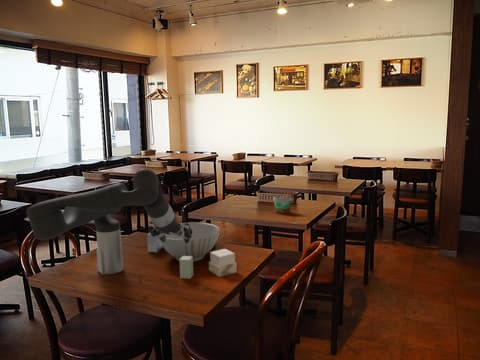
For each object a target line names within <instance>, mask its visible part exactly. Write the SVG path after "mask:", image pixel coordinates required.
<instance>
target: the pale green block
mask: <svg viewBox="0 0 480 360" xmlns="http://www.w3.org/2000/svg"><path fill="white" fill-rule="evenodd" d="M193 276H194V261H193V256H182V257H181V258H180V259H179V278H180V279H188V280H189V279H191V278H192V277H193Z"/></svg>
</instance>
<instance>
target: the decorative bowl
mask: <svg viewBox="0 0 480 360" xmlns="http://www.w3.org/2000/svg"><path fill="white" fill-rule="evenodd" d="M185 223H186V222H182V223H179V224H180V225H185ZM187 223H188V224H189V226H190V228H191V229H192V231H193V232H192V237H191V238H190V240H189V242H188V243H185V241H184V239H183V238H182V237H177V236H175V235H172V234H164V235H165V236H166V240H165V242H162V241H161V240H160V239H159V240H160V242H161V244H162V246H163V249H165V251H166V252H167V253H168V254H170V255H171V256H173V257H174V258H175V260H177V261H179V259H180V258H181V257H182V256H193V262H198V261H200V260H202V259H204V257H205V255H207V254H208V253H209V252H211V250H212V249H213V248H214V246H215V245H216V242H217V241H218V238H219V235H220V228H219V226H217V225H216V224H212V223H207V222H187ZM178 234H179V231H178ZM182 234H183V235H184V233H182Z"/></svg>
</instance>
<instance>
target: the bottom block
mask: <svg viewBox="0 0 480 360" xmlns="http://www.w3.org/2000/svg"><path fill="white" fill-rule="evenodd" d="M237 265H238V264H237V262H235V263H233V264H229V265H225V266H221V267H219V266H217V265H215V264H214V263H212V262H211V260H210V261H208V271H209V272H211V273H212V274H214V275H215V276H217V277H219V278H221V277H224V276H229V275H231V274H235V273H237V272H238V271H237V268H238V267H237Z"/></svg>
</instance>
